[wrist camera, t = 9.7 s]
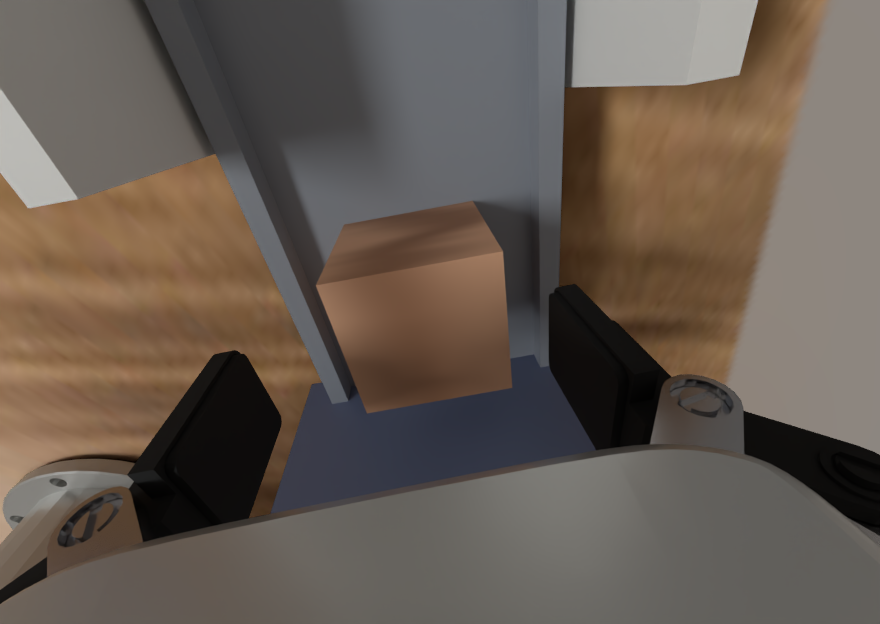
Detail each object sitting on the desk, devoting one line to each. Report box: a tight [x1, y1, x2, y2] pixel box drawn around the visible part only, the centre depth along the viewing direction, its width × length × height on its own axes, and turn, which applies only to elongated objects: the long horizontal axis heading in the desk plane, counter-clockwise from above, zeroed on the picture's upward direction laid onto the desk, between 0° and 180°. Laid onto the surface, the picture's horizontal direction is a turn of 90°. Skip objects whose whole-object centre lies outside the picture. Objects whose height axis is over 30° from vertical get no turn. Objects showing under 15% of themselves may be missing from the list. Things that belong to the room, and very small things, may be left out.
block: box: [316, 201, 512, 413], centre depth 13 cm, size 5×5×5 cm
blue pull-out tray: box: [144, 0, 596, 514], centre depth 11 cm, size 22×14×8 cm, turn 9°
